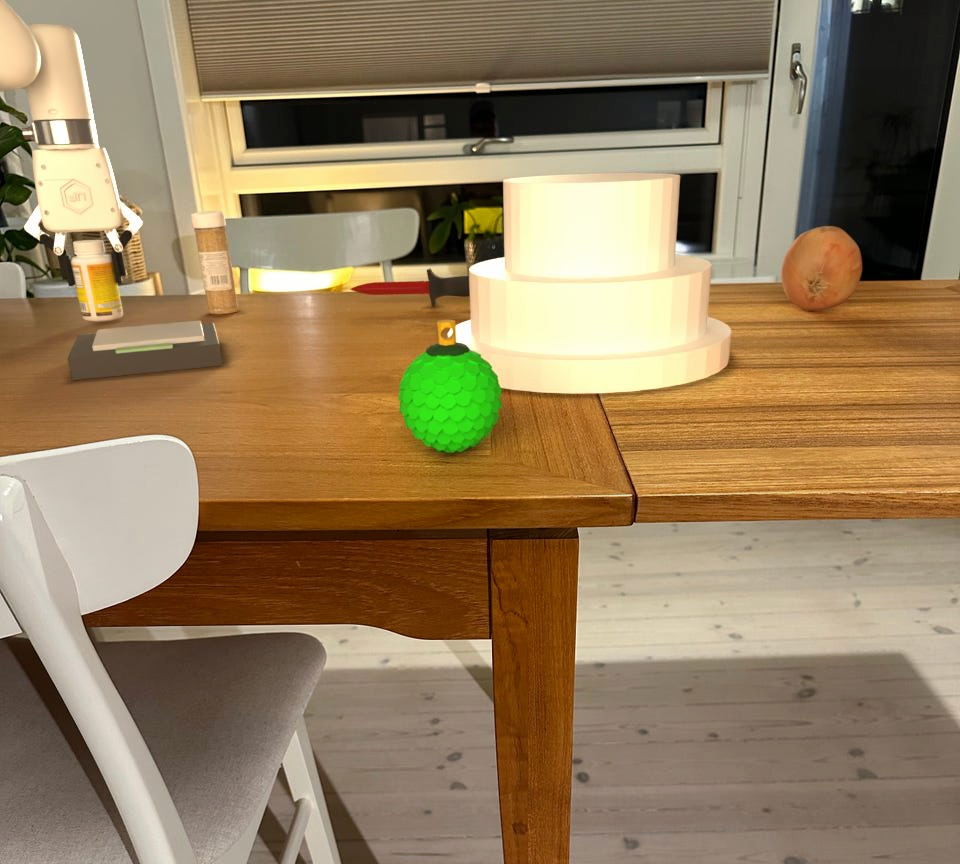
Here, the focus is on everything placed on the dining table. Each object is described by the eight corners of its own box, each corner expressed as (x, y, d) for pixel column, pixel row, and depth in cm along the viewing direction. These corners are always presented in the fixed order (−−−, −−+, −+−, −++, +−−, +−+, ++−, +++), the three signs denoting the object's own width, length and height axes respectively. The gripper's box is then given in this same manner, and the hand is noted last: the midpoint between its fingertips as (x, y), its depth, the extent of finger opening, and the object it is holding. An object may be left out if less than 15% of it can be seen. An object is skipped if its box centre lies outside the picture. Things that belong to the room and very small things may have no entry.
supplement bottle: (131, 315, 137) (117, 239, 132) (111, 322, 132) (96, 243, 127) (95, 315, 138) (80, 239, 133) (74, 322, 133) (57, 243, 128)
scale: (72, 380, 104) (66, 352, 102) (82, 355, 116) (76, 329, 114) (222, 365, 107) (218, 338, 106) (216, 342, 119) (212, 317, 118)
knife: (514, 302, 137) (514, 265, 134) (514, 304, 135) (513, 267, 133) (352, 306, 139) (348, 270, 137) (350, 308, 138) (346, 271, 136)
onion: (852, 303, 126) (864, 221, 121) (859, 317, 118) (872, 229, 113) (776, 303, 128) (784, 223, 124) (777, 317, 120) (787, 231, 115)
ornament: (494, 432, 80) (490, 308, 76) (511, 461, 73) (508, 327, 69) (398, 440, 79) (388, 315, 75) (406, 470, 72) (396, 335, 68)
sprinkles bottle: (242, 309, 141) (227, 209, 135) (235, 314, 137) (219, 212, 131) (211, 310, 141) (195, 211, 135) (203, 315, 137) (186, 213, 131)
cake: (478, 405, 88) (470, 193, 80) (429, 342, 114) (419, 178, 106) (780, 378, 93) (802, 175, 84) (667, 324, 119) (676, 165, 110)
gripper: (-9, 138, 119) (26, 291, 127) (134, 135, 123) (160, 283, 132) (0, 138, 125) (33, 284, 134) (136, 135, 130) (160, 276, 138)
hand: (96, 282), depth 133 cm, fingers closed on supplement bottle, 5 cm apart
